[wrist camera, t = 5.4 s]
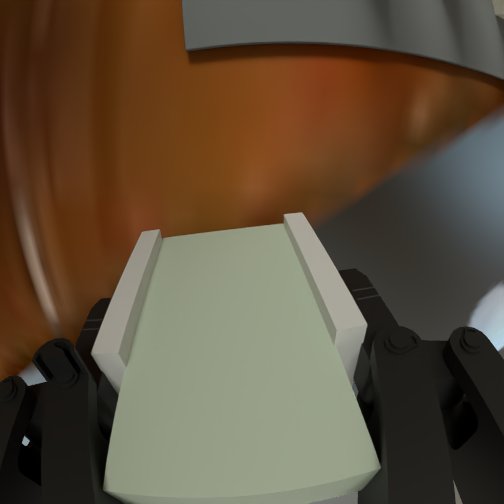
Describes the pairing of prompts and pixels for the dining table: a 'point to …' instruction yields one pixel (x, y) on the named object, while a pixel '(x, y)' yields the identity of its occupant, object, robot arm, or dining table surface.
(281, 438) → the domino
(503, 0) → the domino
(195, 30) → the slate mat
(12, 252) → the dining table surface
